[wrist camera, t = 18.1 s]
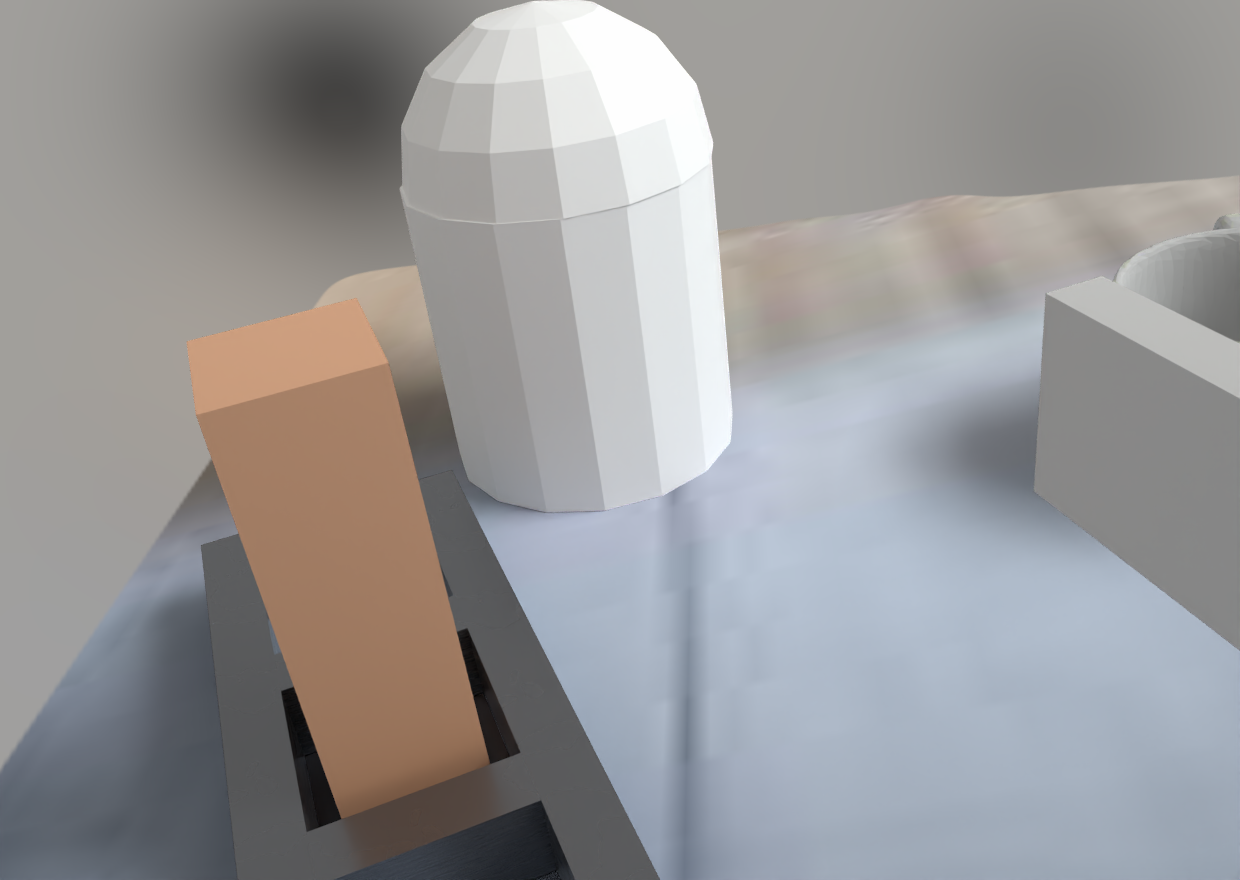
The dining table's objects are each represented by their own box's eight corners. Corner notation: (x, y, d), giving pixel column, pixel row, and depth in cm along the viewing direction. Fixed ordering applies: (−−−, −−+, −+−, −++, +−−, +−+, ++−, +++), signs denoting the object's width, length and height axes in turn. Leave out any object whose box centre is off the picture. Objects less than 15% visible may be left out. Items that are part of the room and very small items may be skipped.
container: (653, 344, 63) (607, -44, 53) (792, 445, 52) (768, -15, 42) (423, 422, 58) (324, 15, 48) (523, 551, 48) (424, 64, 38)
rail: (465, 527, 50) (451, 470, 48) (744, 1101, 28) (735, 1028, 26) (223, 603, 47) (200, 545, 46) (314, 1306, 25) (276, 1237, 23)
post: (466, 717, 40) (356, 297, 32) (502, 812, 36) (388, 362, 28) (335, 764, 39) (186, 341, 30) (358, 866, 35) (195, 415, 27)
